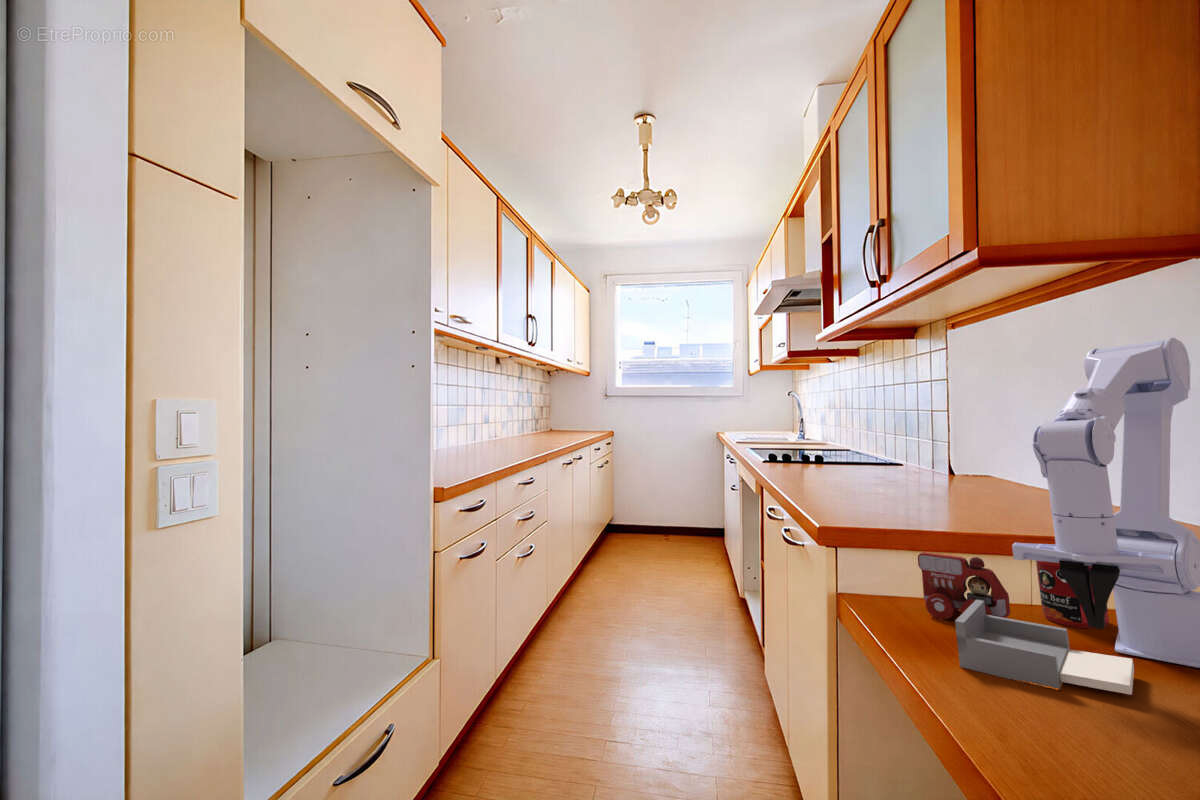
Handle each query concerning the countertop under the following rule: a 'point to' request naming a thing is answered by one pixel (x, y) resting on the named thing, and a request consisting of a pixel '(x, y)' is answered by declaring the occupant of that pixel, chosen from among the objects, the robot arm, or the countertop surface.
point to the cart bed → (1010, 647)
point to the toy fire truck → (960, 585)
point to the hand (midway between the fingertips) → (1096, 625)
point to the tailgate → (1098, 671)
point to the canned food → (1060, 597)
